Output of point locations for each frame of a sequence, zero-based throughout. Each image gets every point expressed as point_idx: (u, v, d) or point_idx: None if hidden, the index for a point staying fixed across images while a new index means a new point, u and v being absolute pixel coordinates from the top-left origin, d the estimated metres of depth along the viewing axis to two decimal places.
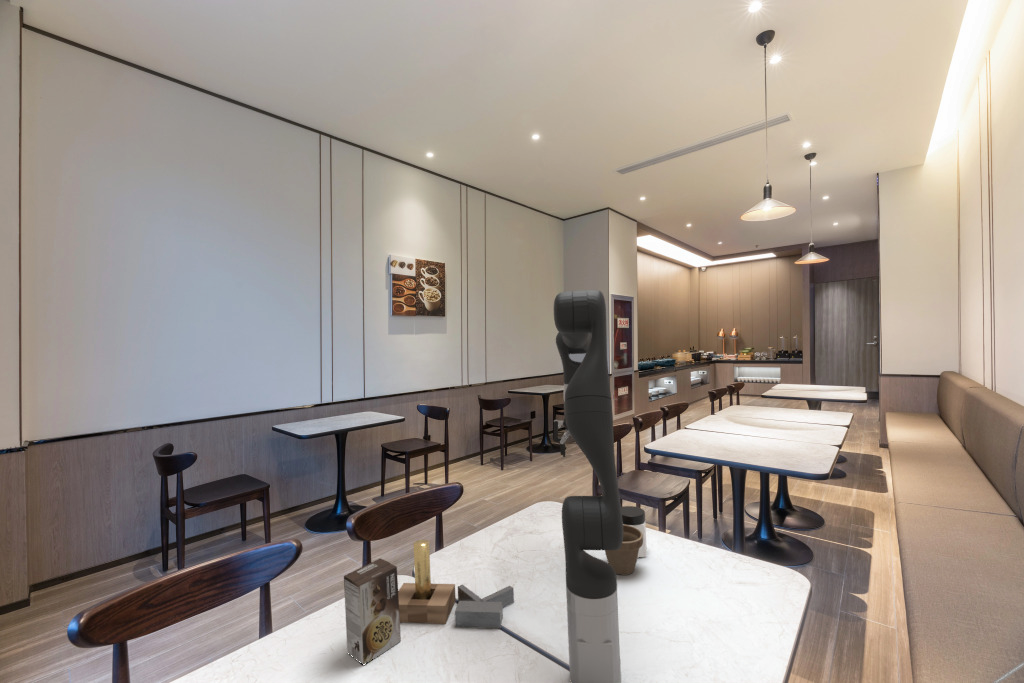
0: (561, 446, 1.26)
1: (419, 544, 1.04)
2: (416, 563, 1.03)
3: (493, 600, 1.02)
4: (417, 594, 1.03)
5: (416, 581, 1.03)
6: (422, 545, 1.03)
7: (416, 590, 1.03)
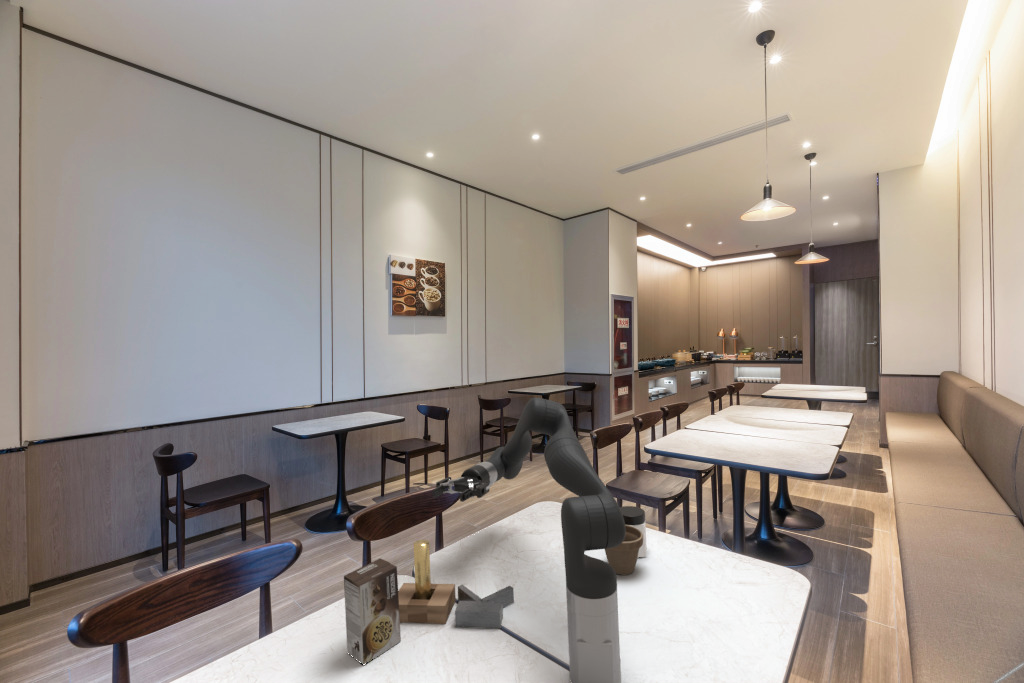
0: (438, 487, 1.19)
1: (419, 544, 1.04)
2: (416, 563, 1.03)
3: (493, 600, 1.02)
4: (417, 594, 1.03)
5: (416, 581, 1.03)
6: (422, 545, 1.03)
7: (416, 590, 1.03)
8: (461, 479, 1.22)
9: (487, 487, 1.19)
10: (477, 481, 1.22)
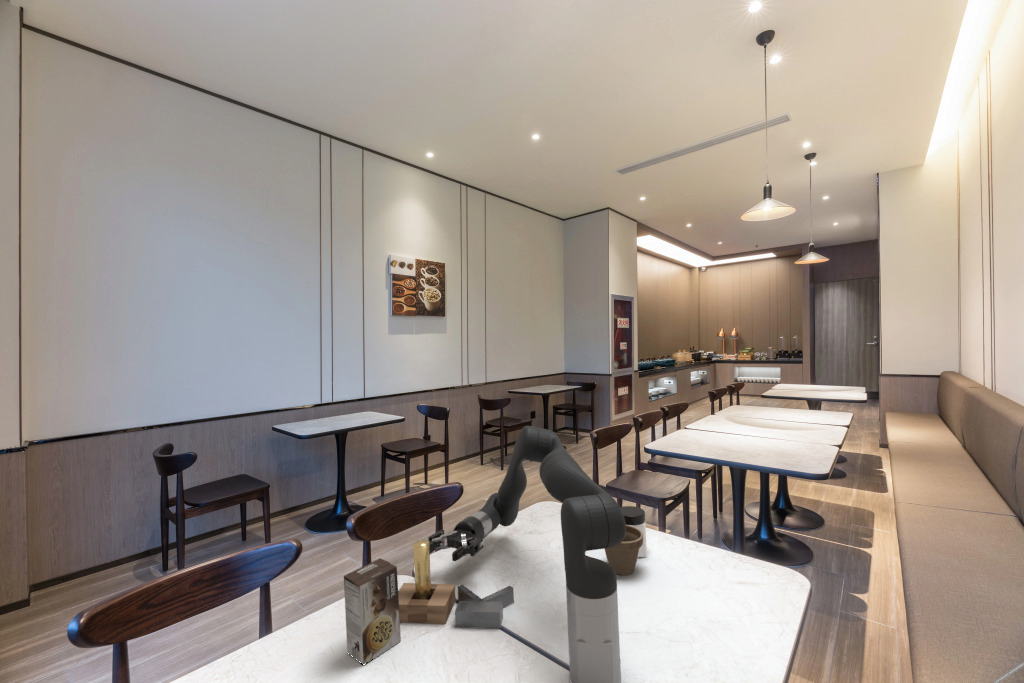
0: (430, 543, 1.15)
1: (419, 544, 1.04)
2: (416, 563, 1.03)
3: (493, 600, 1.02)
4: (417, 594, 1.03)
5: (416, 581, 1.03)
6: (422, 545, 1.03)
7: (416, 590, 1.03)
8: (454, 533, 1.18)
9: (481, 543, 1.15)
10: (471, 536, 1.18)
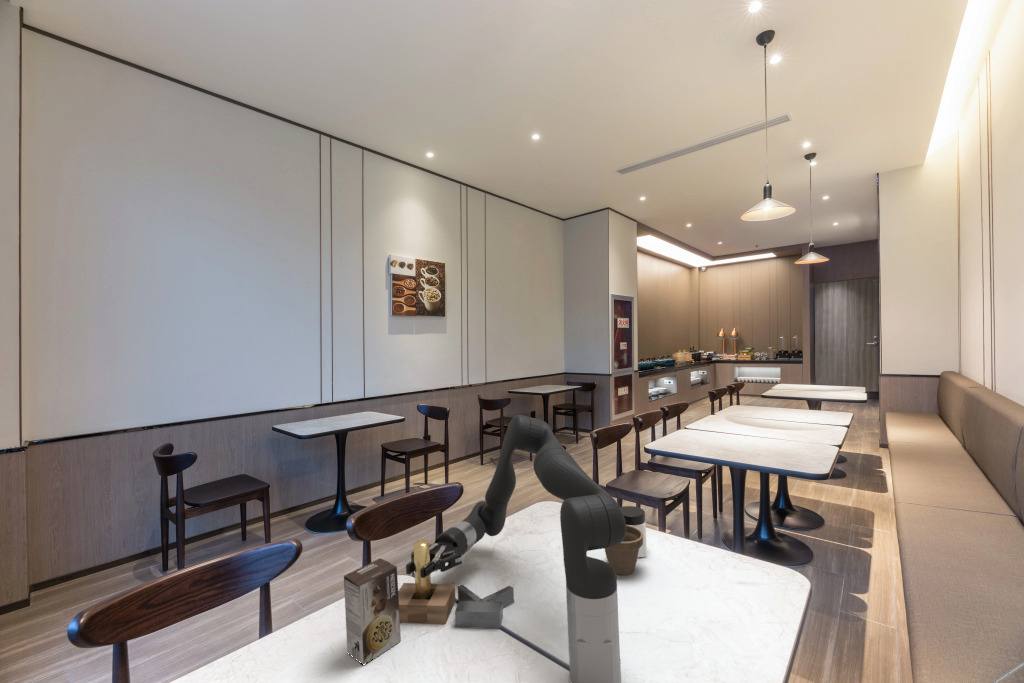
0: (413, 560, 1.06)
1: (419, 544, 1.04)
2: (416, 563, 1.03)
3: (493, 600, 1.02)
4: (417, 594, 1.03)
5: (416, 581, 1.03)
6: (422, 545, 1.03)
7: (416, 590, 1.03)
8: (436, 546, 1.11)
9: (457, 560, 1.06)
10: (452, 549, 1.10)
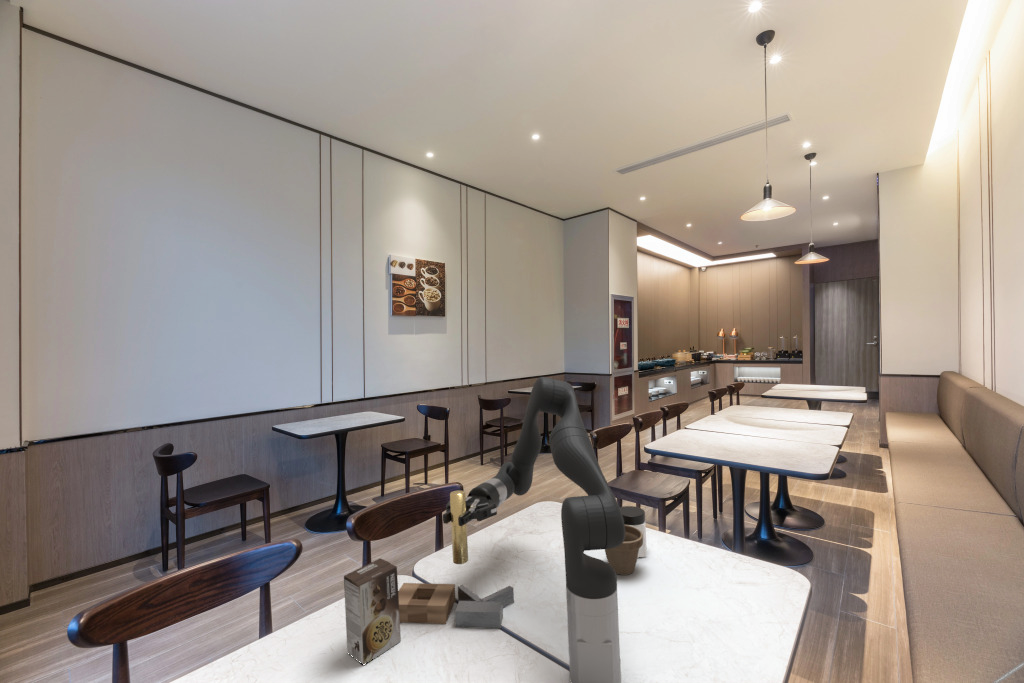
0: None
1: (456, 494, 1.04)
2: (453, 512, 1.04)
3: (493, 600, 1.02)
4: (454, 543, 1.04)
5: (453, 530, 1.04)
6: (459, 494, 1.04)
7: (453, 539, 1.04)
8: (470, 499, 1.11)
9: (492, 510, 1.07)
10: (486, 501, 1.11)
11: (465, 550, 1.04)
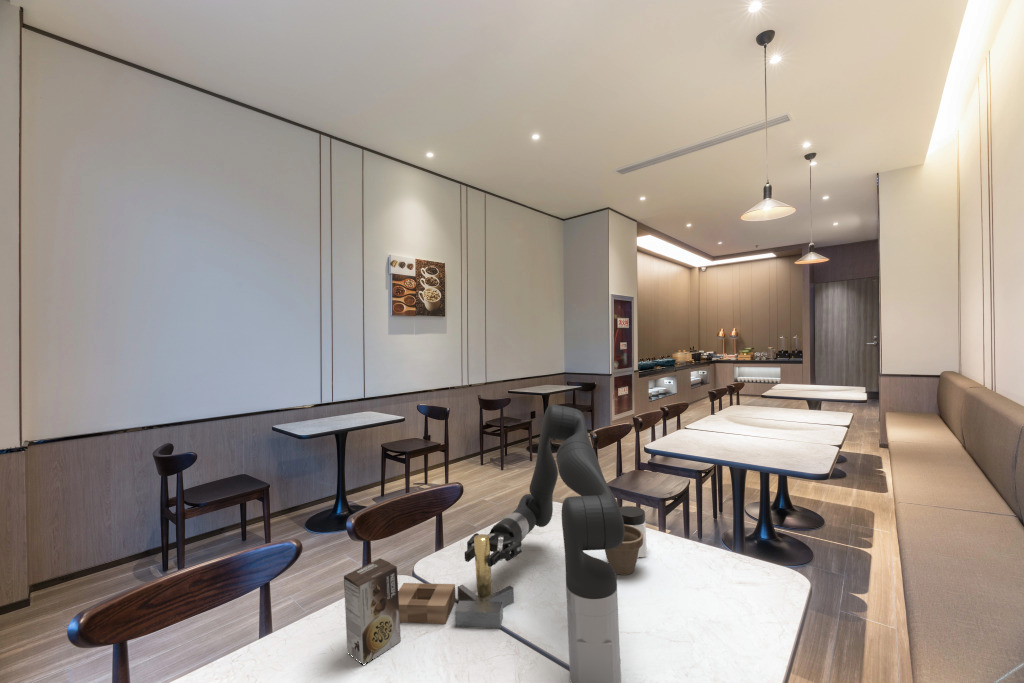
0: None
1: (480, 539, 1.05)
2: (477, 557, 1.04)
3: (493, 600, 1.02)
4: (479, 588, 1.05)
5: (478, 575, 1.05)
6: (483, 540, 1.05)
7: (478, 584, 1.05)
8: (492, 536, 1.12)
9: (518, 548, 1.08)
10: (509, 539, 1.12)
11: (490, 594, 1.05)
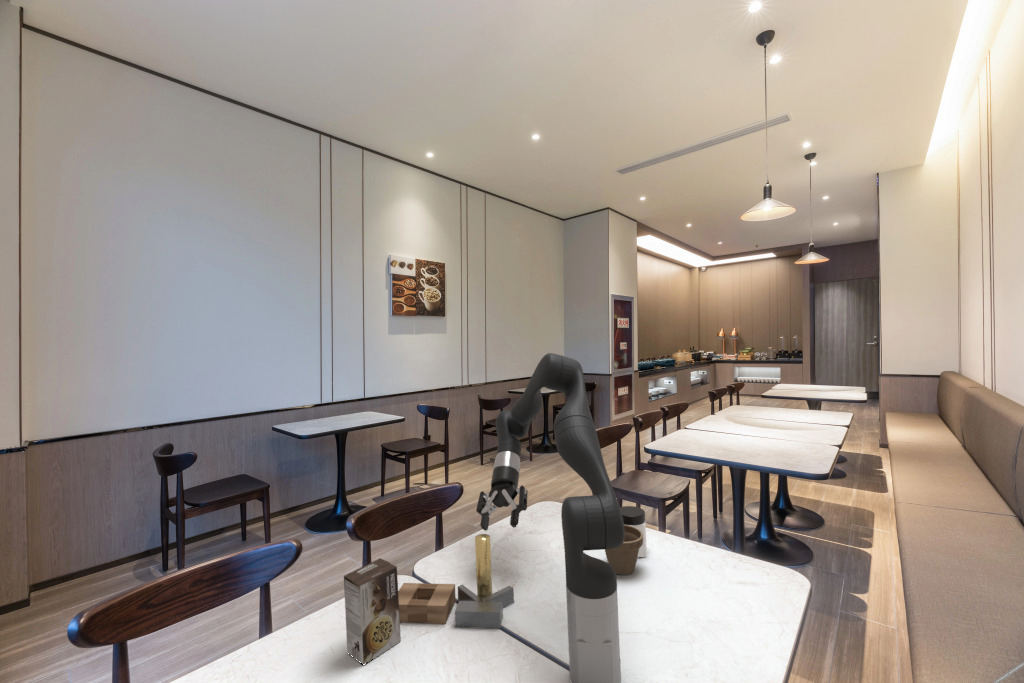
0: (482, 517, 1.18)
1: (481, 538, 1.05)
2: (478, 557, 1.05)
3: (493, 600, 1.02)
4: (479, 587, 1.05)
5: (478, 575, 1.05)
6: (484, 539, 1.05)
7: (478, 583, 1.05)
8: (496, 495, 1.20)
9: (525, 492, 1.18)
10: (511, 488, 1.20)
11: (490, 594, 1.05)
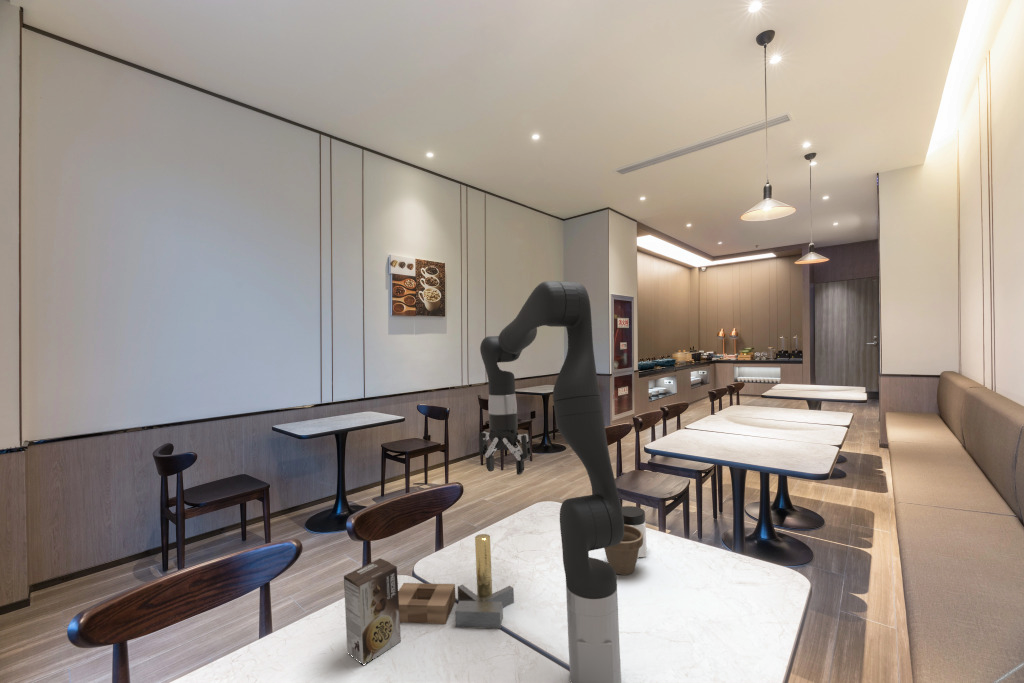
0: (487, 459, 1.19)
1: (481, 538, 1.05)
2: (478, 557, 1.05)
3: (493, 600, 1.02)
4: (479, 587, 1.05)
5: (478, 575, 1.05)
6: (484, 539, 1.05)
7: (478, 583, 1.05)
8: (497, 442, 1.16)
9: (527, 440, 1.14)
10: (512, 436, 1.15)
11: (490, 594, 1.05)
